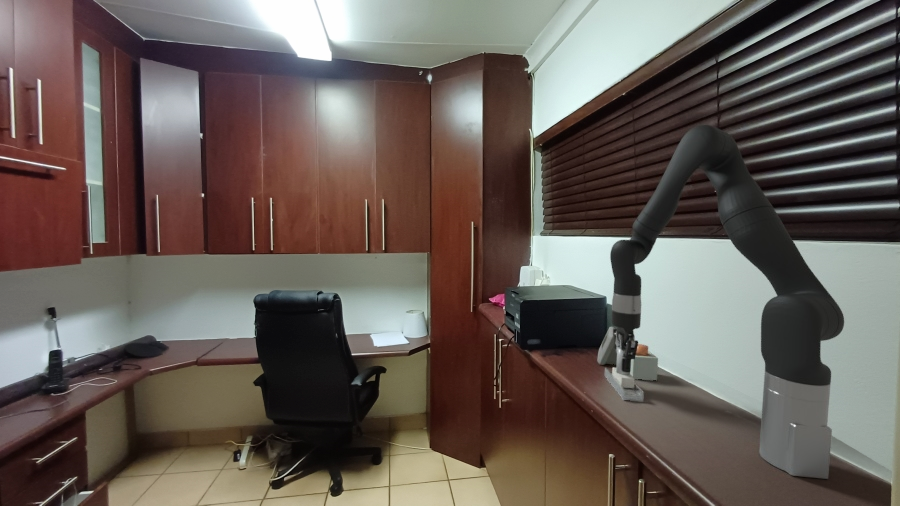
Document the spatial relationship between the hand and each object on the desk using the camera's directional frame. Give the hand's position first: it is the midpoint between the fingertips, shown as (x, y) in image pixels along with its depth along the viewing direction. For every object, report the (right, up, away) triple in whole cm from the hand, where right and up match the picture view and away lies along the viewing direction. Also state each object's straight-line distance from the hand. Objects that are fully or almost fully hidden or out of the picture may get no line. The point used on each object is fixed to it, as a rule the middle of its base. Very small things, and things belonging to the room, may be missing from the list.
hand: (623, 368), depth 105 cm
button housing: (+10, -5, +10) cm, 15 cm away
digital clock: (+6, -5, +25) cm, 26 cm away
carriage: (0, -4, 0) cm, 4 cm away
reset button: (+10, +1, +10) cm, 14 cm away
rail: (0, -6, 0) cm, 6 cm away
